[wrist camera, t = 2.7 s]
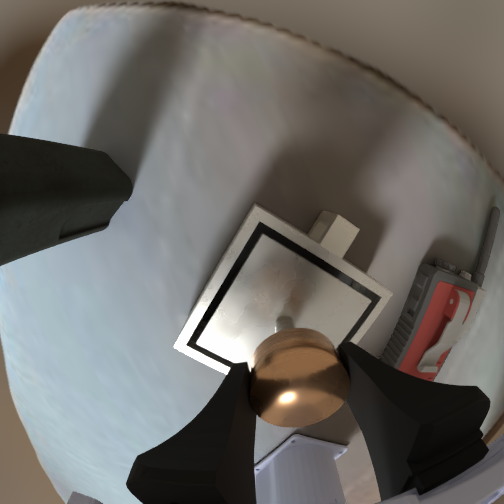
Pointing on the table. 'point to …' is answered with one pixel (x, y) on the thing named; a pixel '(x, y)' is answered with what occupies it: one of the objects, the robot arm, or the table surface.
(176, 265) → the table surface
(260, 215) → the square tray with tab
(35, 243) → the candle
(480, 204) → the table surface
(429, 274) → the walkie-talkie
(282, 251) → the square lid with knob
